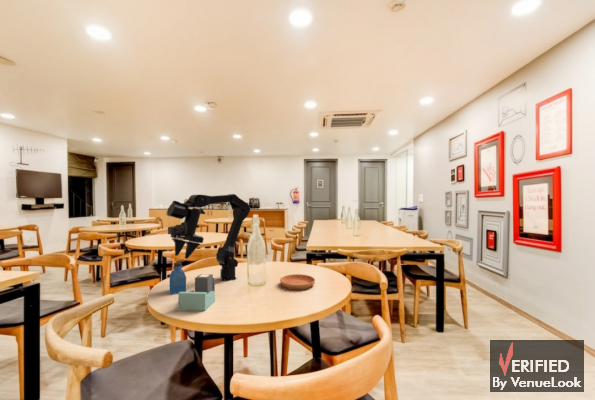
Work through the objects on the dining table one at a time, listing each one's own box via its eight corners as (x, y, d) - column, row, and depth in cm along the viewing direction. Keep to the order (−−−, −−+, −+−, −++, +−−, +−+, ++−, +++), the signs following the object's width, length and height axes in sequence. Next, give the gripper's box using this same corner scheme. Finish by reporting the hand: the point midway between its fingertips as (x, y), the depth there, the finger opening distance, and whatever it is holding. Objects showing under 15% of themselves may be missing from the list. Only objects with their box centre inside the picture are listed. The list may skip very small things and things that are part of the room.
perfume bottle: (169, 294, 107) (169, 265, 107) (169, 290, 113) (169, 262, 113) (186, 292, 110) (186, 263, 110) (185, 287, 115) (184, 260, 116)
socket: (190, 300, 100) (190, 285, 100) (214, 301, 99) (214, 285, 99) (178, 310, 91) (178, 293, 91) (205, 310, 91) (205, 293, 91)
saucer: (321, 288, 114) (321, 281, 114) (286, 293, 108) (286, 286, 108) (306, 278, 129) (306, 272, 129) (275, 282, 123) (275, 276, 123)
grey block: (200, 295, 104) (200, 273, 105) (214, 296, 104) (214, 273, 104) (193, 301, 99) (193, 277, 99) (208, 301, 98) (208, 277, 98)
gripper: (164, 216, 115) (153, 251, 112) (183, 218, 103) (172, 257, 99) (187, 222, 123) (178, 255, 120) (208, 224, 111) (198, 261, 107)
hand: (181, 257), depth 111 cm, fingers open, 9 cm apart
